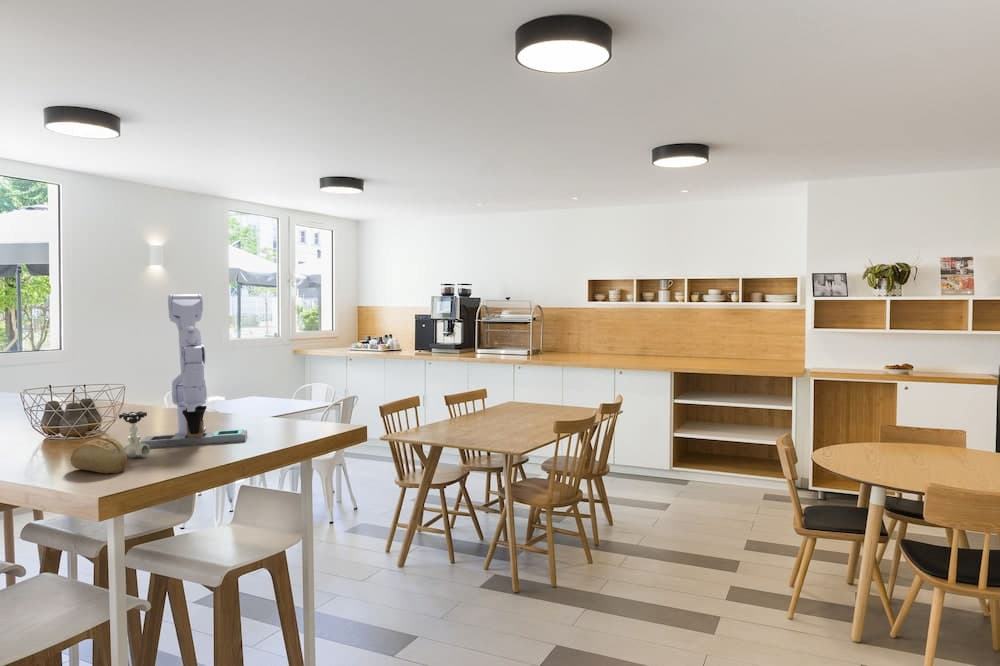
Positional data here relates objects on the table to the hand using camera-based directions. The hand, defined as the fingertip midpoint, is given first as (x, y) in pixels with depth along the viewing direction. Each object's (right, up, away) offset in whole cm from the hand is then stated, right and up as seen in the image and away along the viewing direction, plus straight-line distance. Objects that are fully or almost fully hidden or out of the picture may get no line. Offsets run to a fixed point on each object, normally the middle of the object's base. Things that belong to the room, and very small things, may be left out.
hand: (195, 432), depth 203 cm
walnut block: (0, -3, 0) cm, 3 cm away
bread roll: (-9, -5, -33) cm, 34 cm away
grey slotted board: (0, -3, 0) cm, 3 cm away
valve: (-8, -4, -19) cm, 21 cm away
